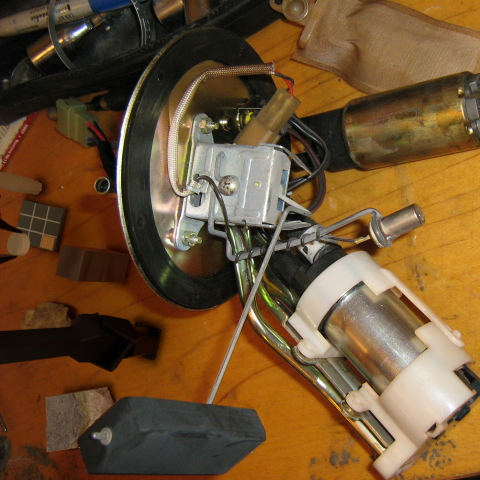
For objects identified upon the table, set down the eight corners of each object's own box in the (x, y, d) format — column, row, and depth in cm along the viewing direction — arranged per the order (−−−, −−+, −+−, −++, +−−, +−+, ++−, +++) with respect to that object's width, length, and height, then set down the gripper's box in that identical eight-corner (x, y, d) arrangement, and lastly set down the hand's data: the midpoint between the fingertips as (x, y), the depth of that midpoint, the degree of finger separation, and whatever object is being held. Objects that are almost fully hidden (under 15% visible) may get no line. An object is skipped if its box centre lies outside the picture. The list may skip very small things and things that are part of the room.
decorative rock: (30, 351, 106) (80, 354, 101) (13, 354, 102) (64, 358, 97) (31, 301, 106) (81, 302, 101) (14, 302, 102) (65, 303, 97)
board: (67, 209, 105) (62, 208, 104) (57, 252, 105) (53, 251, 104) (26, 200, 111) (22, 199, 109) (17, 241, 110) (12, 240, 109)
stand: (130, 254, 97) (84, 250, 86) (123, 282, 97) (77, 281, 86) (109, 249, 99) (62, 244, 89) (103, 276, 99) (55, 275, 89)
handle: (29, 180, 111) (-39, 164, 97) (48, 176, 109) (-19, 159, 95) (28, 199, 110) (-40, 186, 96) (47, 196, 108) (-20, 182, 94)
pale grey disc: (32, 235, 90) (25, 234, 89) (27, 258, 90) (20, 257, 89) (16, 231, 92) (9, 230, 91) (11, 253, 92) (4, 253, 91)
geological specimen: (40, 398, 96) (90, 388, 90) (67, 393, 101) (115, 383, 95) (43, 453, 93) (94, 446, 88) (70, 444, 99) (120, 437, 93)
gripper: (-89, 174, 79) (2, 191, 94) (-113, 280, 79) (-18, 281, 93) (-50, 183, 75) (39, 200, 90) (-75, 295, 75) (18, 294, 89)
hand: (18, 244), depth 91 cm, fingers closed on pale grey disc, 4 cm apart
